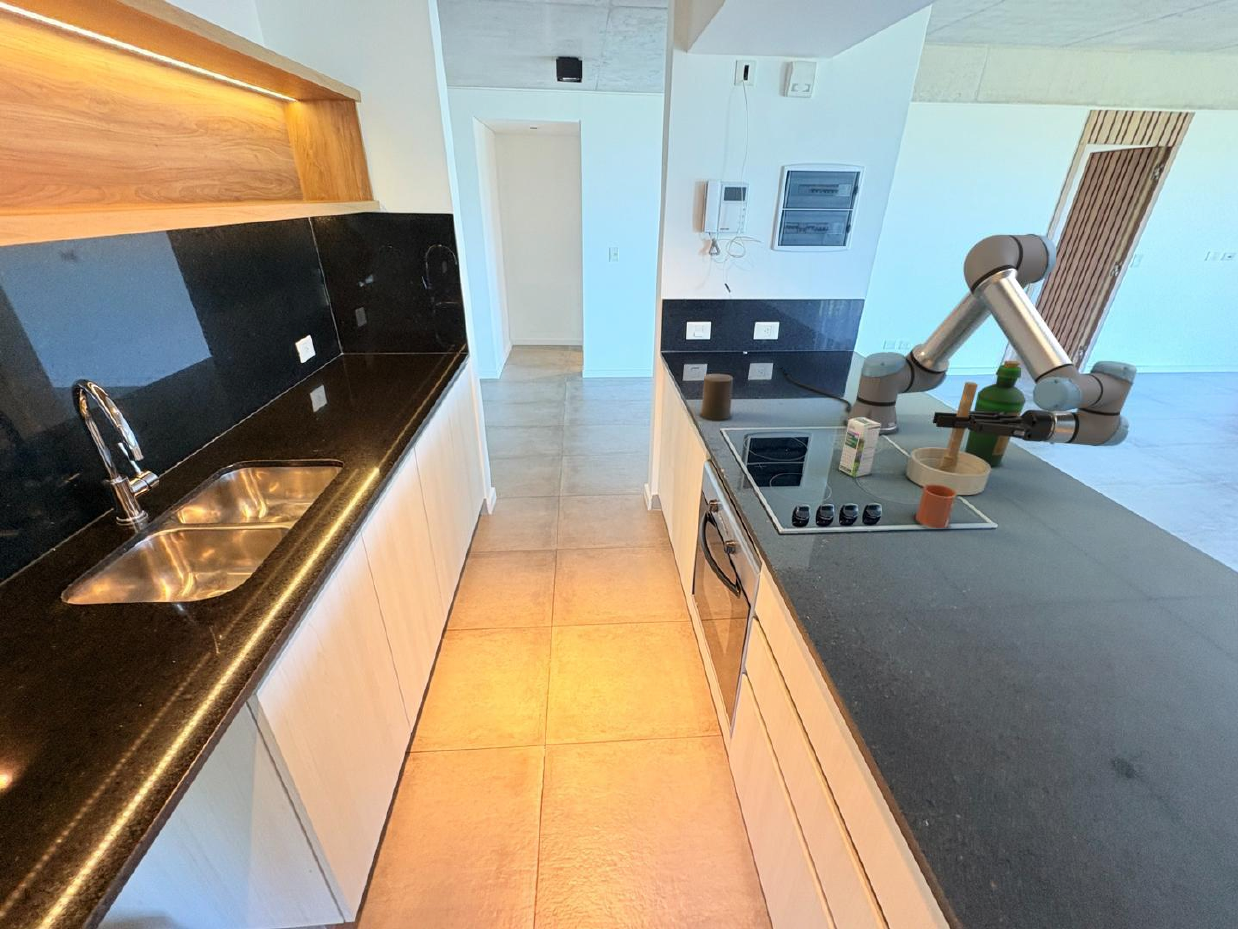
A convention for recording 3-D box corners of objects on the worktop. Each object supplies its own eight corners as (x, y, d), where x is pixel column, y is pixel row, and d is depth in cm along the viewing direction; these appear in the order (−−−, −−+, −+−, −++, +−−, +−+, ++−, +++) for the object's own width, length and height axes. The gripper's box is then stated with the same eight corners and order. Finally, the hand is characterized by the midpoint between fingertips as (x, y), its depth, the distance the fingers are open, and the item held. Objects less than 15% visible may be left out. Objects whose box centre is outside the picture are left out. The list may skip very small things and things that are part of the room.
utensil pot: (908, 517, 120) (917, 485, 116) (933, 514, 121) (941, 483, 118) (928, 531, 114) (937, 499, 111) (953, 528, 115) (963, 496, 112)
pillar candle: (717, 422, 176) (721, 378, 170) (695, 415, 183) (698, 373, 176) (735, 416, 182) (739, 373, 175) (713, 409, 188) (716, 368, 182)
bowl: (890, 470, 142) (895, 450, 140) (947, 464, 145) (952, 444, 143) (939, 501, 127) (945, 478, 124) (1001, 494, 130) (1008, 472, 127)
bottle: (1011, 470, 142) (1046, 368, 130) (967, 467, 144) (998, 366, 132) (994, 455, 151) (1025, 358, 140) (953, 452, 153) (980, 356, 142)
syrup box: (837, 469, 143) (847, 419, 137) (854, 465, 145) (864, 415, 139) (854, 478, 138) (864, 426, 132) (870, 474, 140) (882, 422, 134)
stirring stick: (939, 475, 134) (965, 383, 124) (937, 472, 136) (962, 381, 126) (954, 476, 134) (981, 384, 124) (951, 473, 136) (978, 382, 126)
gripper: (1055, 453, 120) (942, 444, 125) (1024, 430, 134) (923, 423, 138) (1066, 422, 117) (950, 414, 122) (1033, 401, 131) (930, 395, 135)
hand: (936, 419), depth 130 cm, fingers closed on stirring stick, 2 cm apart
